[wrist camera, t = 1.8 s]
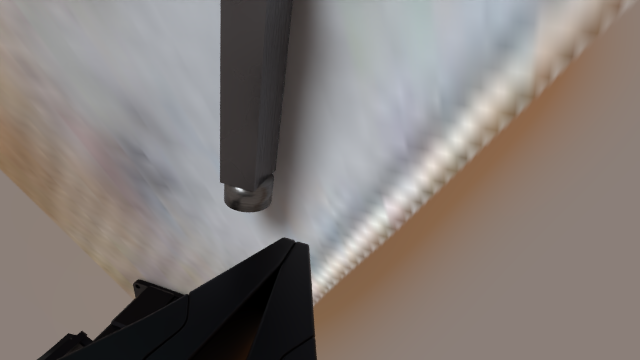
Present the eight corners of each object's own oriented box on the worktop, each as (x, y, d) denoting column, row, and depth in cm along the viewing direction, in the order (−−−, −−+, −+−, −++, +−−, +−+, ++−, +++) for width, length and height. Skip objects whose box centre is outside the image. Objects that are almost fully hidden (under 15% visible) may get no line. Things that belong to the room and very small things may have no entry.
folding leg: (255, -83, 13) (196, -136, 9) (313, -75, 13) (276, -128, 9) (243, 179, 19) (205, 212, 16) (282, 189, 19) (252, 226, 15)
